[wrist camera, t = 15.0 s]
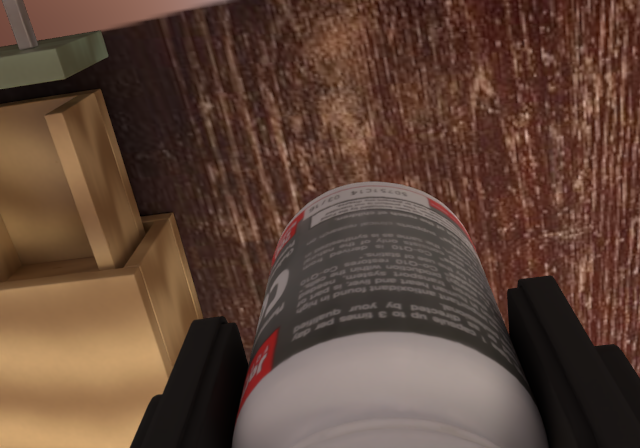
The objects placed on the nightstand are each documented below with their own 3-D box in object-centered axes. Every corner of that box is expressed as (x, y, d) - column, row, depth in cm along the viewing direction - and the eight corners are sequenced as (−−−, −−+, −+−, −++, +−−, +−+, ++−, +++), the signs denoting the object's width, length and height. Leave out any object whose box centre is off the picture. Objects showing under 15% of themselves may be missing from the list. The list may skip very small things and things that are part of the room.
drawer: (-127, -56, 27) (-219, -53, 22) (64, -92, 26) (7, -97, 22) (11, 270, 34) (-39, 320, 29) (167, 251, 33) (139, 300, 28)
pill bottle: (255, 191, 14) (140, 501, 6) (468, 162, 13) (622, 461, 6) (293, 360, 16) (240, 753, 8) (480, 341, 15) (607, 740, 8)
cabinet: (-3, 234, 34) (-79, 299, 28) (173, 211, 33) (133, 274, 27) (72, 410, 39) (21, 496, 33) (225, 395, 38) (202, 482, 32)
